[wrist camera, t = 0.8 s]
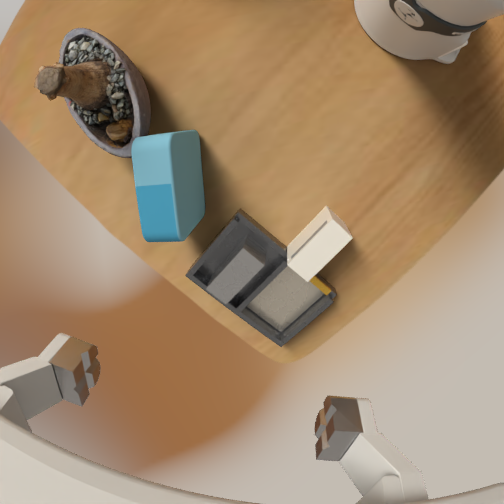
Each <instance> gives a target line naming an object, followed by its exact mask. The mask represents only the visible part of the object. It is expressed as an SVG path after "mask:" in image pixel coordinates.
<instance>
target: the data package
mask: <svg viewBox="0 0 504 504" xmlns="http://www.w3.org/2000/svg"><path fill="white" fill-rule="evenodd" d="M131 153H132V162H133V171H134V179H135V187H136V195H137V202H138V209H139V215H140V222H141V228H142V234H143V237H144V239H145V240H146V241H147V242H176V241H184V240H185V239H186V238H187V237H188V235H189V234H190V233H191V232H192V230H193V229H194V228H195V227H196V225H197V224H198V223H199V222H200V221H201V219H202V218H203V217H204V214H205V198H204V186H203V175H202V163H201V150H200V138H199V134H198V132H197V131H196V130H187V131H178V132H170V133H162V134H155V135H148V136H142V137H137V138H135V140H134V141H133V143H132V149H131Z"/></svg>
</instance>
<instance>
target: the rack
mask: <svg viewBox="0 0 504 504" xmlns="http://www.w3.org/2000/svg"><path fill="white" fill-rule="evenodd" d="M185 276H186V277H188V278H189V279H190V280H192V281H193V282H194V283H195V284H197V285H198V286H199V287H201V288H202V289H203V290H204V291H206V292H207V293H208V294H210V295H211V296H212V297H214V298H215V299H216V300H218V301H219V302H220V303H221V304H223V305H224V306H225V307H227V308H228V309H229V310H231V311H232V312H233V313H235V314H236V315H238V316H239V317H240V318H242V319H243V320H244V321H246V322H247V323H248V324H250V325H251V326H252V327H254V328H255V329H257V330H258V331H259V332H261V333H262V334H263V335H265V336H266V337H268V338H269V339H270V340H272V341H273V342H275V343H276V344H277V345H279V346H280V347H282V346H283V345H284V344H285V343H287V342H288V341H289V340H290V339H291V338H293V337H294V336H295V335H296V334H297V333H299V332H300V331H301V330H302V329H303V328H304V327H306V326H307V325H308V324H309V323H310V322H311V321H313V320H314V319H315V318H316V317H317V316H318V315H319V314H321V313H322V312H323V311H324V310H325V309H326V308H327V307H329V306H330V305H331V304H332V303H333V302H334V301H333V298H334V297H335V296H336V295H337V294H336V290H335V288H334V287H333V286H332V285H331V284H330V283H328V282H327V281H326V280H325V279H324V278H323V277H321V276H320V275H319V274H318V273H317V274H316V275H315V276H313V277H312V278H311V279H310V280H309V281H308V282H307V281H306V280H304V279H303V278H302V277H301V276H300V275H298V274H297V273H296V272H295V271H294V270H292V269H291V268H290V267H289V266H288V265H287V247H286V246H285V245H284V244H283V243H281V242H280V241H279V240H278V239H277V238H275V237H274V236H273V235H272V234H271V233H269V232H268V231H267V230H266V229H265V228H264V227H262V226H261V225H260V224H259V223H258V222H256V221H255V220H254V219H253V218H252V217H250V216H249V215H248V214H247V213H245V212H244V211H243V210H242V209H241V208H240V209H239V211H238V212H237V213H236V214H235V215H234V216H233V218H232V219H231V220H230V221H229V222H228V223H227V225H226V226H225V227H224V228H223V229H222V230H221V232H220V233H219V234H218V235H217V236H216V237H215V239H214V240H213V241H212V242H211V243H210V245H209V246H208V247H207V248H206V249H205V250H204V252H203V253H202V254H201V255H200V256H199V258H198V259H197V260H196V261H195V262H194V264H193V265H192V266H191V267H190V269H189V270H188V272H187V274H186V275H185Z"/></svg>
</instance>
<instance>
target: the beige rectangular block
mask: <svg viewBox="0 0 504 504" xmlns="http://www.w3.org/2000/svg"><path fill="white" fill-rule="evenodd" d="M352 238H353V237H352V236H351V234H350V232H349V230H348V228H347V226H346V225H345V223H344V221H343V220H341V219H340V218H339V217H338V216H337V215H336V214H335V213H334V212H333V211H332V210H331V209H330V208H329V207H327V206H325V207H324V208H323V209H322V210H321V211H320V212H319V214H318V215H317V216H316V217H315V218H314V219H313V220H312V221H311V222H310V223H309V224H308V225H307V226H306V227H305V228H304V229H303V230H302V231H301V232H300V233H299V234H298V235H297V236H296V237H295V238H294V240H293V241H292V242H291V243H290V244H289V245H288V246H287V265H288V266H289V267H290V268H291V269H292V270H294V271H295V272H296V273H297V274H298V275H300V276H301V277H302V278H303V279H304V280H306V281H307V282H308V281H309V280H310V279H311V278H312V277H313V276H315V275H316V274H317V273H318V272H319V271H320V270H321V269H322V268H323V267H324V266H325V265H326V264H327V263H328V262H329V261H330V260H331V259H332V258H333V257H334V256H335V255H336V254H337V253H338V252H339V251H340V250H341V249H342V248H343V247H344V246H345V245H346V244H347V243H348V242H349V241H350V240H351V239H352Z"/></svg>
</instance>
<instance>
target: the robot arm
mask: <svg viewBox="0 0 504 504" xmlns="http://www.w3.org/2000/svg"><path fill="white" fill-rule="evenodd" d="M354 4H355V10H356V14H357V17H358V19H359V22H360V24H361V25H362V27H363V29H364V30H365V31H366V33H367V34H368V35H369V36H370V37H371V38H372V39H373V40H374V41H375V42H376V43H377V44H378V45H379V46H381V47H382V48H384V49H385V50H387V51H388V52H390V53H392V54H394V55H397V56H399V57H402V58H406V59H412V60H423V59H433V60H436V61H438V62H441V63H444V64H450V63H452V62H454V61H455V59H456V57H457V55H458V53H459V51H460V49H461V48H462V47H464V46H466V45H467V44H468V41H467V40H468V38H469V36H470V34H471V32H473V31H475V30H477V29H478V28H480V27H481V26H482V25H484V24H485V23H486V21H487V20H489V19H492V18H494V17H497V16H500V15H503V14H504V0H354ZM97 355H98V349H97V346H95V345H93V344H90V343H88V342H85V341H82V340H80V339H77V338H74V337H71V336H69V335H66V334H64V333H60V334H58V335H57V336H56V337H55V338H54V339H53V341H52V342H51V343H50V344H49V345H48V346H47V348H45V350H44V351H43V352H42V353H41V354H40V355H39V356H38V358H37V357H32V358H29V359H26V360H23V361H20V362H17V363H15V364H11V365H8V366H6V367H3V368H0V504H259V503H250V502H243V501H237V500H229V499H224V498H218V497H213V496H208V495H203V494H198V493H194V492H189V491H185V490H181V489H177V488H173V487H169V486H165V485H161V484H158V483H154V482H151V481H147V480H144V479H141V478H138V477H135V476H132V475H128V474H126V473H123V472H119V471H117V470H114V469H111V468H109V467H106V466H103V465H101V464H98V463H96V462H93V461H91V460H88V459H86V458H83V457H81V456H78V455H77V454H74V453H72V452H69V451H68V450H65V449H63V448H61V447H59V446H57V445H55V444H53V443H51V442H49V441H47V440H45V439H43V438H41V437H39V436H37V435H35V434H33V433H32V430H31V428H30V426H29V425H28V422H27V420H28V419H30V418H32V417H34V416H35V415H37V414H39V413H41V412H43V411H44V410H46V409H48V408H50V407H52V406H53V405H55V404H57V403H59V402H60V401H62V399H64V400H66V401H69V402H71V403H74V404H77V405H79V406H83V404H84V403H85V401H86V399H87V398H88V396H89V390H88V389H89V388H91V387H94V386H95V385H96V383H97V381H98V379H99V375H100V363H99V361H98V360H97V359H96V356H97ZM315 435H316V437H317V438H318V441H317V443H316V459H317V460H328V461H339V463H340V465H341V466H342V468H343V469H344V470H345V472H346V473H347V475H348V476H349V478H350V479H351V480H352V482H353V483H354V485H355V486H356V487H357V489H358V490H359V492H360V493H361V494H362V496H363V497H362V498H361V500H359V501H358V502H357V503H356V504H504V483H498V484H494V485H491V486H487V487H483V488H480V489H476V490H472V491H468V492H464V493H460V494H455V495H451V496H446V497H441V498H435V499H428V495H427V491H426V487H425V483H424V479H423V475H422V472H421V471H420V470H419V469H418V468H417V467H416V466H415V465H413V463H412V462H410V461H409V460H408V459H407V458H406V457H405V456H404V455H403V454H402V453H401V452H400V451H399V450H398V449H397V448H396V447H395V446H394V445H393V444H392V443H391V442H390V441H389V440H388V439H387V438H386V437H385V436H384V435H383V434H381V433H378V431H377V427H376V422H375V419H374V414H373V411H372V406H371V402H370V400H369V399H366V398H365V399H364V398H350V397H339V396H338V397H337V396H327V397H326V399H325V401H324V408H323V409H321V410H320V411H319V413H318V415H317V418H316V422H315Z"/></svg>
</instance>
